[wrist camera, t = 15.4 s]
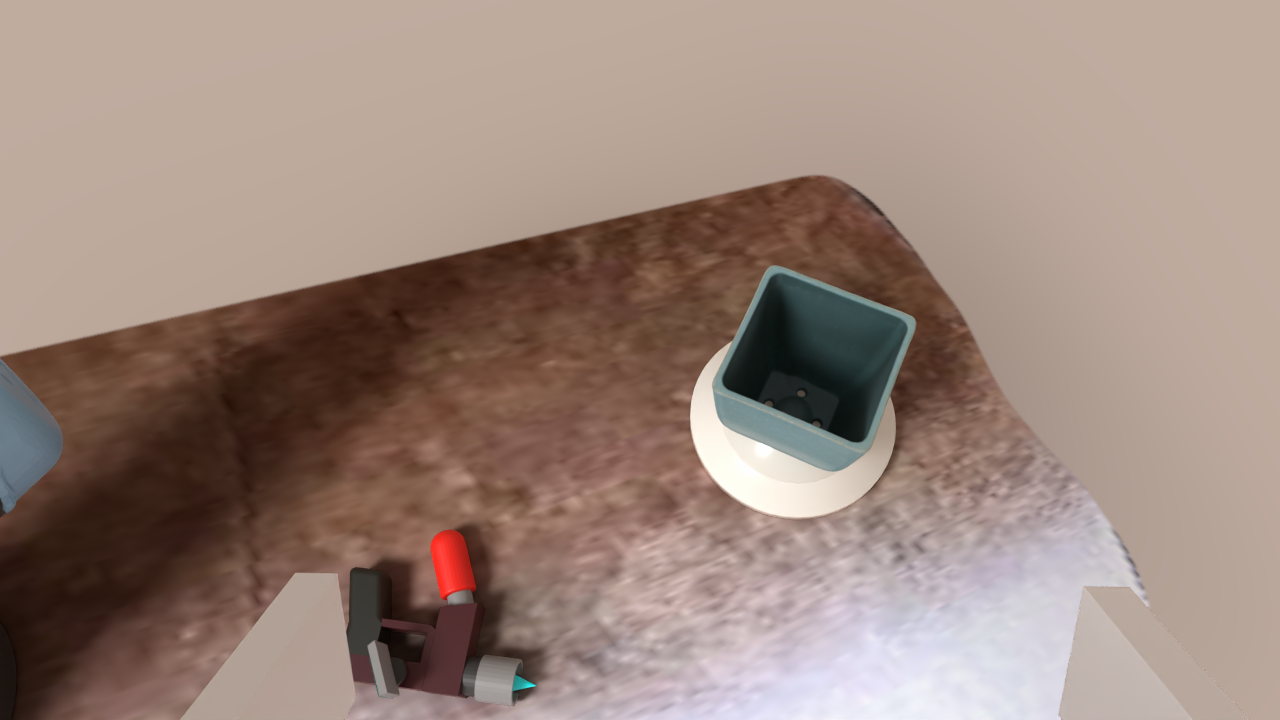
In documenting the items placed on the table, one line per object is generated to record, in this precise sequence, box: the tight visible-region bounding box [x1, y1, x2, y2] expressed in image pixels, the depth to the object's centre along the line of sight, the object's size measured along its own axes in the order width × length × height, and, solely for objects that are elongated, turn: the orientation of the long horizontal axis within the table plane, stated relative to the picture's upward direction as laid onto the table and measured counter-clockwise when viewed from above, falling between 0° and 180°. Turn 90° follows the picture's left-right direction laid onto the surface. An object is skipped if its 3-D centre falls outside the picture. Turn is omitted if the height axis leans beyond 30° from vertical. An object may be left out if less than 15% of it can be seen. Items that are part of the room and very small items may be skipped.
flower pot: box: [712, 265, 916, 472], centre depth 47 cm, size 9×9×9 cm
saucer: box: [690, 342, 896, 520], centre depth 52 cm, size 13×13×1 cm
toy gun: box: [346, 530, 536, 706], centre depth 46 cm, size 10×12×5 cm
